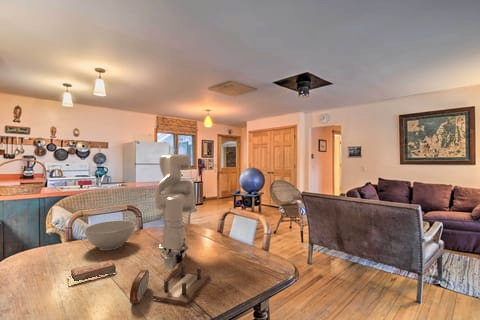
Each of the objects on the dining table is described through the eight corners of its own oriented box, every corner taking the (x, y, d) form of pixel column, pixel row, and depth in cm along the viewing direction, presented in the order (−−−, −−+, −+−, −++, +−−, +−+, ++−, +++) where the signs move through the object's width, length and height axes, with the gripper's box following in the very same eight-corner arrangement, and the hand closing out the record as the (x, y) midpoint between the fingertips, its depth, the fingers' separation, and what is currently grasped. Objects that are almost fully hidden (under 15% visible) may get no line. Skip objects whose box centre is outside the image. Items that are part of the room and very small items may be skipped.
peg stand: (152, 299, 90) (152, 284, 90) (181, 274, 109) (181, 262, 109) (186, 306, 86) (186, 290, 86) (210, 278, 105) (209, 266, 105)
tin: (142, 286, 100) (142, 265, 100) (150, 285, 100) (150, 265, 100) (128, 309, 85) (128, 284, 85) (138, 308, 85) (137, 284, 85)
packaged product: (112, 257, 118) (116, 264, 110) (112, 267, 118) (117, 275, 111) (66, 267, 107) (68, 276, 100) (67, 278, 107) (68, 288, 100)
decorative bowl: (132, 236, 163) (132, 218, 163) (139, 249, 140) (138, 228, 140) (84, 244, 149) (84, 224, 149) (83, 259, 126) (83, 236, 126)
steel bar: (164, 269, 108) (163, 258, 108) (176, 255, 122) (176, 245, 122) (172, 270, 107) (172, 259, 107) (184, 256, 121) (184, 246, 121)
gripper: (153, 223, 113) (154, 262, 114) (186, 227, 108) (186, 268, 109) (163, 219, 120) (164, 255, 121) (194, 222, 115) (194, 260, 116)
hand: (174, 261), depth 115 cm, fingers closed on steel bar, 4 cm apart
